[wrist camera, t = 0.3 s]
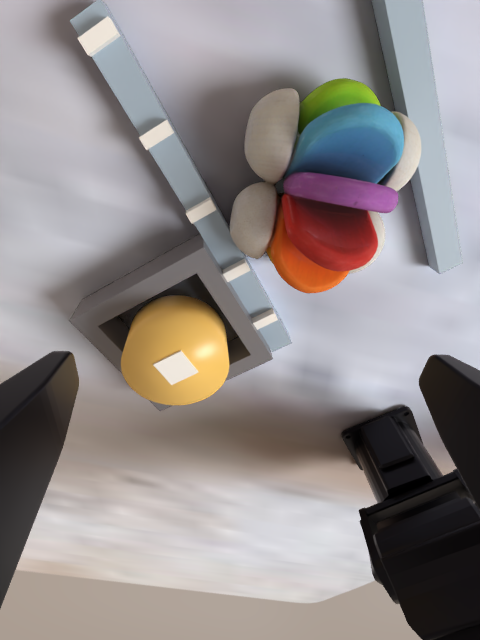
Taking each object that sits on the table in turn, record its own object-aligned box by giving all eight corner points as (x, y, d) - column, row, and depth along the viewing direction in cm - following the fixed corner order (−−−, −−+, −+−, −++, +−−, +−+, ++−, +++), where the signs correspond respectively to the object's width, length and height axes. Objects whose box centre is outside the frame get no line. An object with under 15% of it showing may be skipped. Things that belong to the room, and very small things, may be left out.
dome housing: (266, 337, 25) (273, 359, 23) (163, 386, 27) (159, 411, 25) (203, 232, 20) (203, 247, 18) (81, 299, 22) (69, 321, 20)
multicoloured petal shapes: (221, 251, 21) (229, 312, 15) (255, 60, 16) (288, 38, 10) (346, 270, 23) (399, 333, 17) (412, 102, 18) (522, 104, 12)
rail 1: (288, 333, 25) (293, 348, 24) (269, 341, 25) (274, 357, 24) (106, 5, 15) (95, -6, 13) (78, 25, 15) (64, 17, 13)
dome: (242, 348, 23) (247, 380, 20) (166, 384, 24) (161, 419, 21) (194, 278, 20) (193, 305, 17) (109, 323, 21) (96, 355, 18)
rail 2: (451, 256, 23) (462, 263, 22) (429, 266, 23) (439, 274, 22) (374, -193, 12) (389, -219, 11) (335, -164, 13) (347, -187, 12)
